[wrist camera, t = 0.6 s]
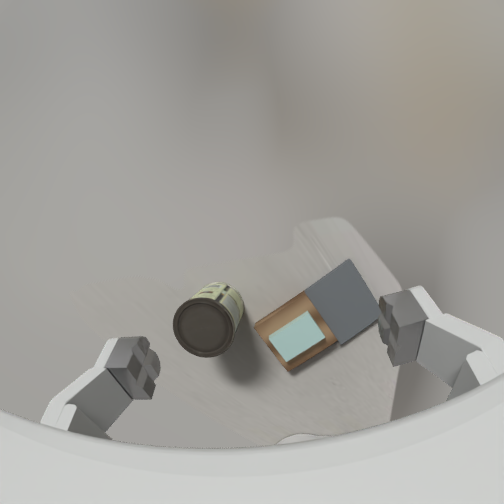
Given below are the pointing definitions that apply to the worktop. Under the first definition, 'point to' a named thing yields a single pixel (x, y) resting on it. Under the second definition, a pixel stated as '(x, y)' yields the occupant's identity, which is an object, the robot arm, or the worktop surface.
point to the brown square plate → (284, 317)
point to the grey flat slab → (344, 301)
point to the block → (296, 336)
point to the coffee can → (209, 320)
